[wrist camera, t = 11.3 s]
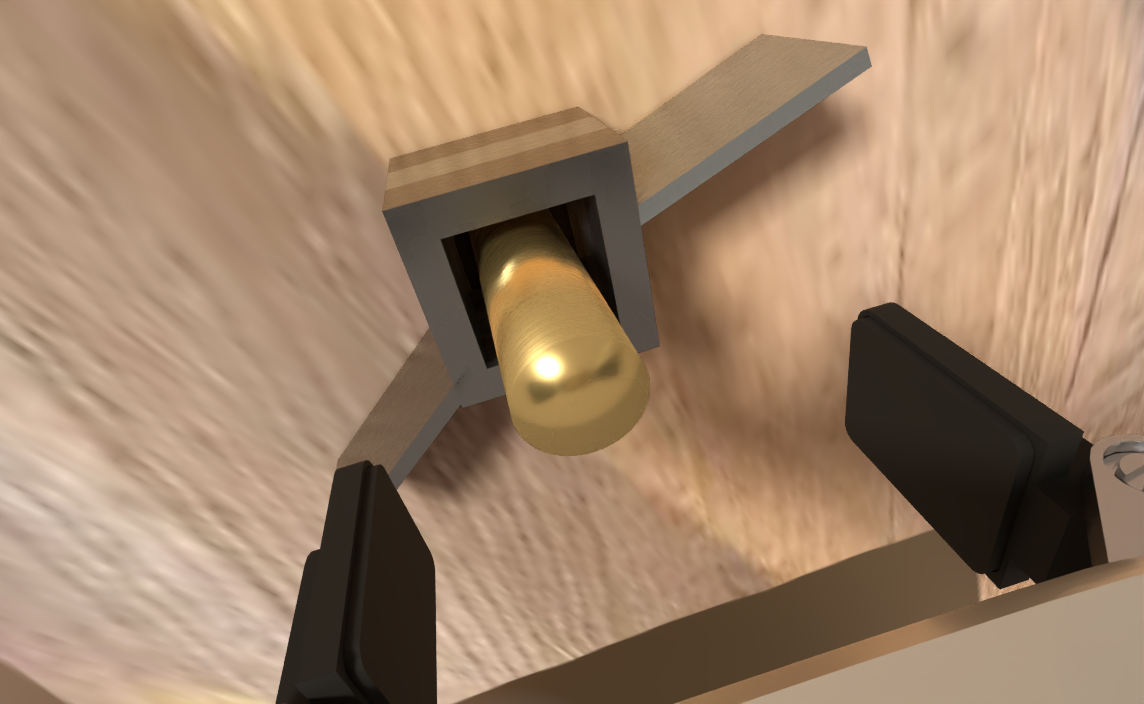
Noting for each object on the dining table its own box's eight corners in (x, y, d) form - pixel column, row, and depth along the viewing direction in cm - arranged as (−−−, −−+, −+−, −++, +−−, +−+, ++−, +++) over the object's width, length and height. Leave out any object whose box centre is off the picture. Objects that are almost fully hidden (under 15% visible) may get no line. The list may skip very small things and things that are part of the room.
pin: (538, 173, 22) (639, 318, 12) (557, 249, 24) (658, 431, 14) (456, 196, 22) (491, 363, 12) (481, 272, 24) (530, 472, 14)
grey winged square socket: (766, 32, 22) (872, 45, 17) (774, 330, 29) (849, 401, 24) (178, 194, 20) (100, 261, 15) (342, 467, 27) (326, 574, 22)
